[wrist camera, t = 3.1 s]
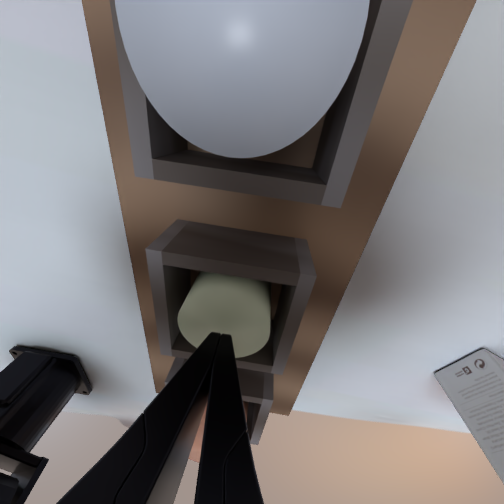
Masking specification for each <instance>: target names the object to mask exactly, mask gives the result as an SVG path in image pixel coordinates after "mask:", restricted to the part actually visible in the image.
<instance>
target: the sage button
mask: <svg viewBox="0 0 504 504" xmlns="http://www.w3.org/2000/svg"><path fill="white" fill-rule="evenodd" d="M270 318H271V282H267V281H260V280H254V279H248V278H242V277H236V276H229V275H223V274H217V273H211V272H205V271H200V272H199V274H198V276H197V278H196V280H195V282H194V284H193V286H192V288H191V290H190V291H189V293H188V295H187V297H186V299H185V301H184V303H183V305H182V307H181V309H180V311H179V313H178V326H179V329H180V331H181V333H182V334H183V336H184V337H185V338H186V340H187V341H188V342H190V343H191V344H192V345H193V346H195V347H196V348H198V346H199V345H200V344H201V343H202V342H203V341H204V339H205V338H206V337H207V336H208V335H209V334H210V333H211V332H218V333H221V334H223V333H224V334H230V335H231V336H232V341H233V347H234V353H235V358H239V357H245V356H248V355H251V354H254V353H256V352H257V351H259V350H260V349H262V348H263V347H264V346H265V344H266V343H267V341H268V339H269V336H270Z"/></svg>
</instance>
